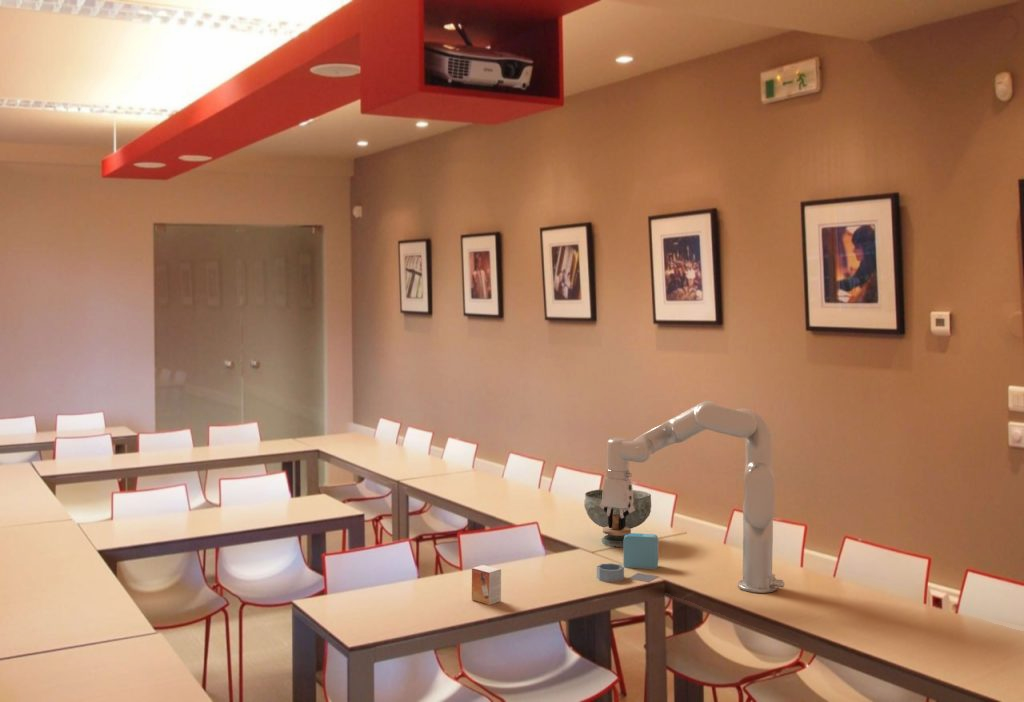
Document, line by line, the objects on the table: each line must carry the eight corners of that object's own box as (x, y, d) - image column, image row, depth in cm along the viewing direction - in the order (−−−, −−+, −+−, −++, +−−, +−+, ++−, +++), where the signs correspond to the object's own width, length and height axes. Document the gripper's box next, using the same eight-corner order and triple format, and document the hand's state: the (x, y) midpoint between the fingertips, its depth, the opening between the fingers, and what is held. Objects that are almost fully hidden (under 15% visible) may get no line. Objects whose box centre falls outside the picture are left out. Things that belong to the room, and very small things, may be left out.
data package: (658, 567, 351) (658, 534, 351) (657, 570, 347) (657, 537, 346) (624, 565, 354) (624, 532, 353) (623, 569, 349) (623, 535, 348)
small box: (471, 600, 314) (471, 567, 313) (483, 596, 318) (483, 564, 317) (489, 605, 308) (489, 572, 308) (501, 601, 313) (501, 568, 312)
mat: (658, 578, 337) (659, 576, 337) (648, 583, 331) (648, 582, 331) (638, 574, 342) (638, 572, 342) (627, 580, 335) (627, 578, 335)
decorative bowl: (595, 551, 370) (597, 499, 370) (574, 537, 395) (576, 487, 395) (660, 550, 377) (662, 498, 376) (636, 535, 402) (637, 487, 401)
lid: (635, 531, 336) (635, 514, 336) (622, 536, 328) (622, 519, 328) (611, 527, 342) (611, 510, 341) (597, 532, 334) (597, 515, 333)
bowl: (627, 578, 337) (627, 565, 336) (615, 585, 330) (615, 571, 329) (605, 574, 342) (605, 562, 341) (593, 580, 334) (593, 567, 334)
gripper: (644, 475, 332) (643, 529, 333) (601, 470, 341) (601, 522, 343) (634, 479, 326) (633, 533, 327) (591, 473, 335) (590, 526, 336)
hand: (616, 527), depth 335 cm, fingers closed on lid, 3 cm apart
